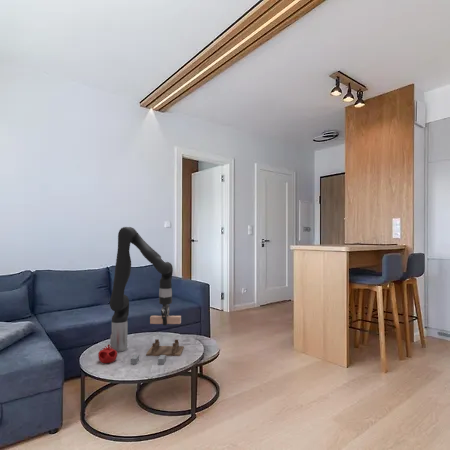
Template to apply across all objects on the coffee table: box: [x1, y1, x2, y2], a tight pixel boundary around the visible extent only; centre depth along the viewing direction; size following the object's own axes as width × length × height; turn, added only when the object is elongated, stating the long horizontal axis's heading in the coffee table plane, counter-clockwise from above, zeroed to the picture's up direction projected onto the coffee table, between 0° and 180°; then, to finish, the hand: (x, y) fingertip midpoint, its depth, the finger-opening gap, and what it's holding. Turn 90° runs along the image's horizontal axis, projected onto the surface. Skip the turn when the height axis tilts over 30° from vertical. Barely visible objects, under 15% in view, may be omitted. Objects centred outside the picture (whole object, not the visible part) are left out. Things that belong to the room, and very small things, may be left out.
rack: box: [145, 338, 185, 357], centre depth 203 cm, size 20×14×6 cm
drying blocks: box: [130, 354, 167, 366], centre depth 186 cm, size 18×6×3 cm, turn 88°
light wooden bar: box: [149, 315, 182, 325], centre depth 204 cm, size 18×4×4 cm, turn 88°
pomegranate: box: [97, 344, 118, 364], centre depth 188 cm, size 10×10×9 cm
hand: (165, 324), depth 204 cm, fingers closed on light wooden bar, 3 cm apart
